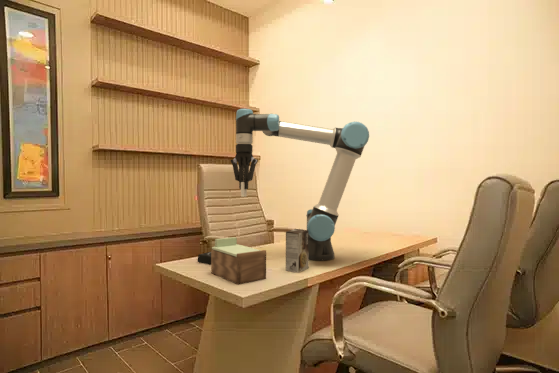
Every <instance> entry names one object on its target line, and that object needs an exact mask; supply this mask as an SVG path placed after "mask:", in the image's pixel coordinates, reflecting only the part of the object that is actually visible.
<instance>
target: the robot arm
mask: <svg viewBox="0 0 559 373" xmlns="http://www.w3.org/2000/svg"><path fill="white" fill-rule="evenodd" d="M253 132H262V133H263V135H265V136H267V137H280V138H284V139H285V138H286V139H290V140H296V141H297V140H298V141H303V142H308V143H309V142H310V143H315V144H316V143H318V144H321V145H322V144H323V145H326V146H330V148H332V149H335V151H336V155H335V158H334V161H333V163H332V166H331V169H330V171H329V174H328V177H327V180H326V183H325V184H324V187H323V190H322V192H321V195H320V198H319V201H318V203H317V204H315V205H313V206H312V207H313V208H311V209H308V210H307V211H306V230H309V231H308V236H309V240H308V241H309V242H308V245H309V251H308V260H310V261H330V260H334V259H335V251H334V247H333V245H332V240H331V239H332V236H333V235H334V233H335V231H336V230H335V229H336V227H335V226H336V223H337V221H338V218H339V213H338V208H339V205H340V203H341V200H342V198H343V195H344V192H345V189H346V187H347V184H348V181H349V179H350V177H351V173H352V171H353V168H354V165H355V163H356V160H357V159H360V158H361V156H362V154H363V151H364V148H365V146H366V145H367V144H368V142H369V138H370V131H369V129H368V127H367V126H366V125H365V124H364V123H362V122H359V121H351V122H348V123H347V124H345V125H344V126H343V127H342V128H341V127H334V128H325V127H319V126H314V125H307V124H301V123H297V122H296V123H295V122H289V121H281V120H280V116H279V114H277V113H275V114H274V113H257V114H256V113H254V111H253V110H252V109H250V108H240V109H237V110H236V117H235V157H234V158H232V159H230V163H231V165H232V169H233V170H232V171H233V175H234V179H235V181H237V182H238V184H239V187H238V188H239V190H240V197H243V198H244V197H247V196H248V192H247V191H248V190H249V182H251V181H253V178H254V174H255V170H256V164H257V163H258V159H256V158H254V156H253V146H254V145H253V141H254V140H253V139H254V138H253Z"/></svg>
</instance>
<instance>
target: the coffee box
mask: <svg viewBox="0 0 559 373" xmlns="http://www.w3.org/2000/svg"><path fill="white" fill-rule="evenodd" d="M308 231H309V230H307V229H303V228H301V229H300V228H294V229H289V230H287V231H285V271H286V272H293V273H301V272H303V271H305V270H307V269H309V259H308V251H309V245H308V242H309V241H308V240H309V236H308Z"/></svg>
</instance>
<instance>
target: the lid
mask: <svg viewBox="0 0 559 373" xmlns="http://www.w3.org/2000/svg"><path fill="white" fill-rule="evenodd" d="M237 239H238V238H237V237H235V236H233V237H231V236H230V237H224V238H215V239H214V246H212V247H211V250H216V251H220V252H223V253H226V254H229V255H232V256H235V257H237V254H238V253H245V252H253V251H260V250H261V249H257V248H253V247H250V246H247V245H242V244H238V243H237V241H238V240H237Z"/></svg>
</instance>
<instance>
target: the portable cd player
mask: <svg viewBox="0 0 559 373" xmlns="http://www.w3.org/2000/svg"><path fill="white" fill-rule="evenodd" d="M198 262H199V264H205V265H210V266H211V251H209V252H205V253H199V254H198V256H197V263H198Z"/></svg>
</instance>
